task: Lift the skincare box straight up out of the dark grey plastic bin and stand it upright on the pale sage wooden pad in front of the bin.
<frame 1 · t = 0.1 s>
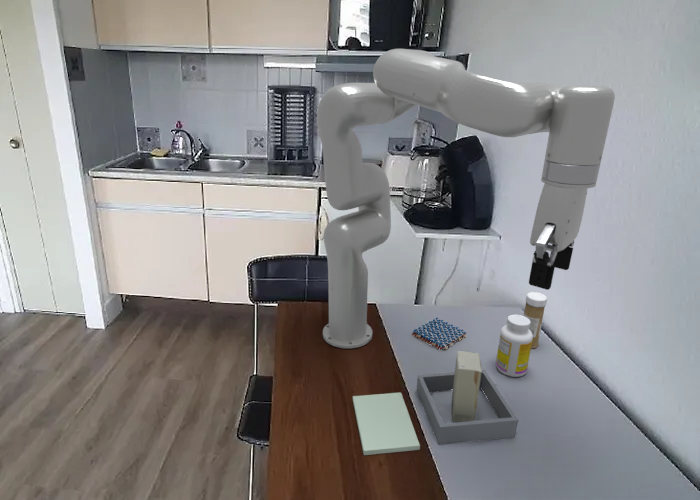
hand: (549, 276, 72), 31 cm above the table, tool pointing down, fingers open, 9 cm apart
supplement bottle: (510, 369, 100), on the table
sprinkles bottle: (527, 344, 109), on the table
skincare box: (462, 413, 87), resting in bin
woven mat: (438, 338, 112), on the table
bin: (462, 412, 86), on the table
pad: (383, 423, 84), on the table
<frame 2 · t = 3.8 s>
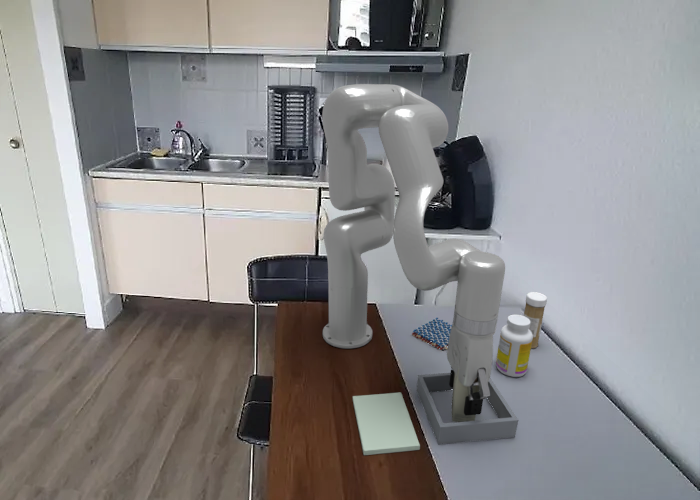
hand: (464, 398, 85), 3 cm above the table, tool pointing down, fingers closed on skincare box, 7 cm apart
skincare box: (462, 413, 87), resting in bin, touching gripper
everything else where it was.
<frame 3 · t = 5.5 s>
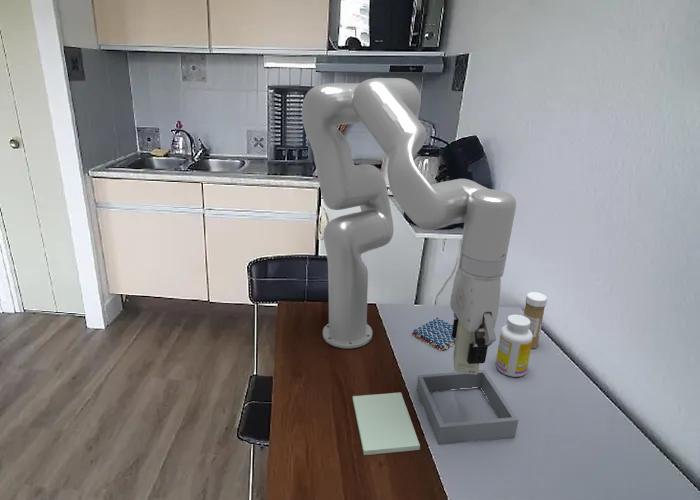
hand: (467, 348, 82), 14 cm above the table, tool pointing down, fingers closed on skincare box, 7 cm apart
skincare box: (464, 364, 83), point 11 cm above the table, touching gripper
everything else where it was.
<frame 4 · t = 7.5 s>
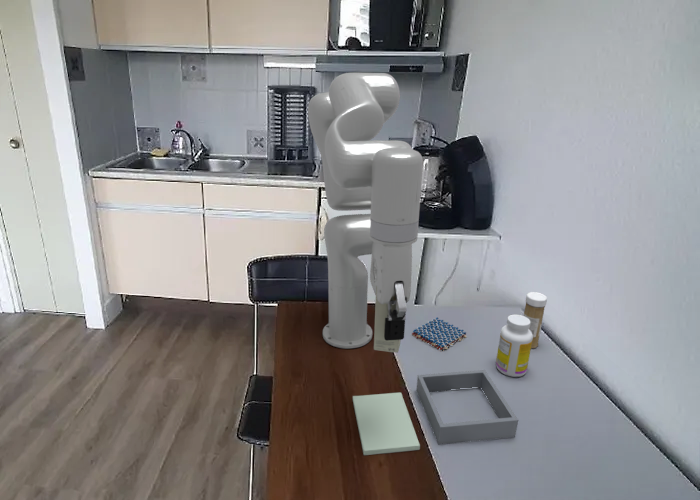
hand: (388, 325, 76), 21 cm above the table, tool pointing down, fingers closed on skincare box, 7 cm apart
skincare box: (387, 342, 77), point 18 cm above the table, touching gripper
everything else where it was.
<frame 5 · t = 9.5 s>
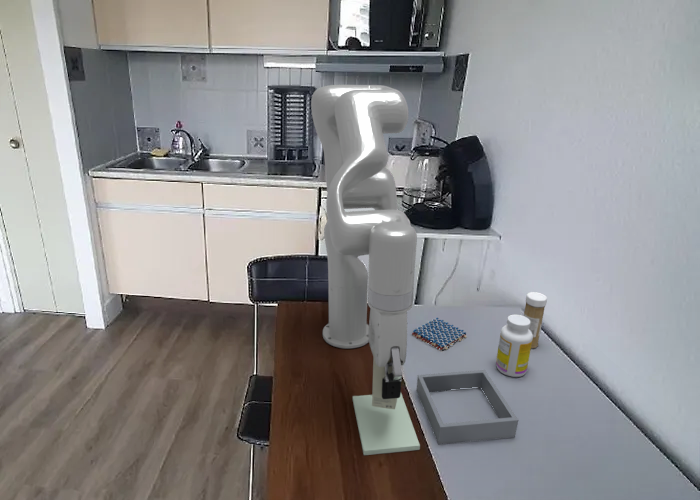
hand: (386, 382, 80), 10 cm above the table, tool pointing down, fingers closed on skincare box, 7 cm apart
skincare box: (385, 398, 81), point 6 cm above the table, touching gripper
everything else where it was.
when the fingers open (6 cm above the table, at t = 11.3 s): skincare box drops 1 cm, resting on pad.
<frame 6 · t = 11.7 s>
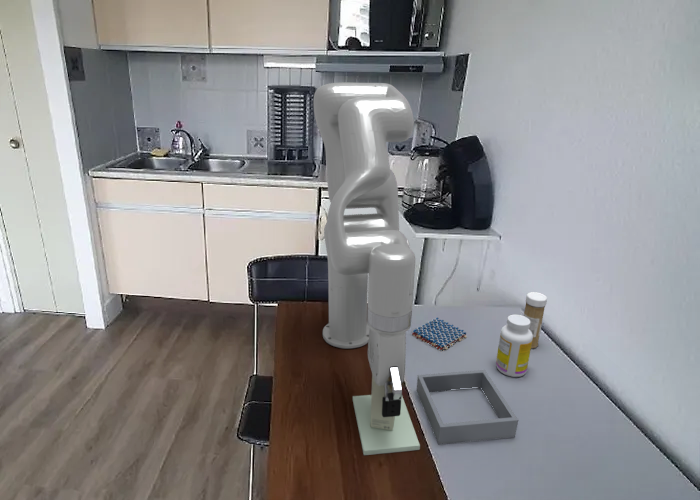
hand: (385, 396, 81), 6 cm above the table, tool pointing down, fingers open, 9 cm apart
skincare box: (383, 418, 84), point 1 cm above the table, touching pad
everything else where it was.
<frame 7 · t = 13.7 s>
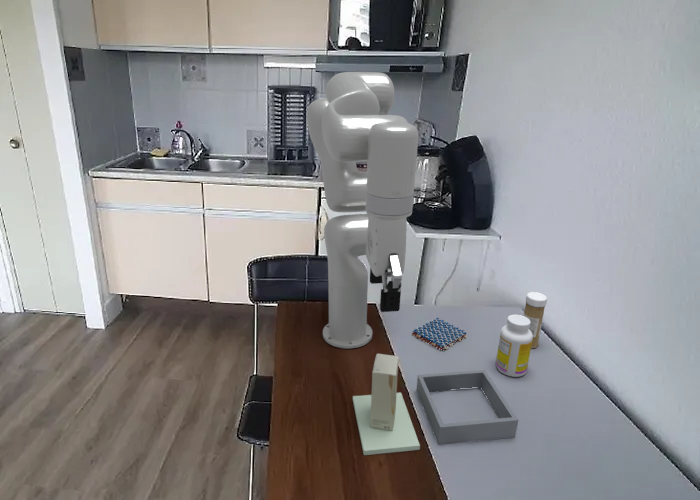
hand: (383, 295, 77), 25 cm above the table, tool pointing down, fingers open, 9 cm apart
nothing on the table moved.
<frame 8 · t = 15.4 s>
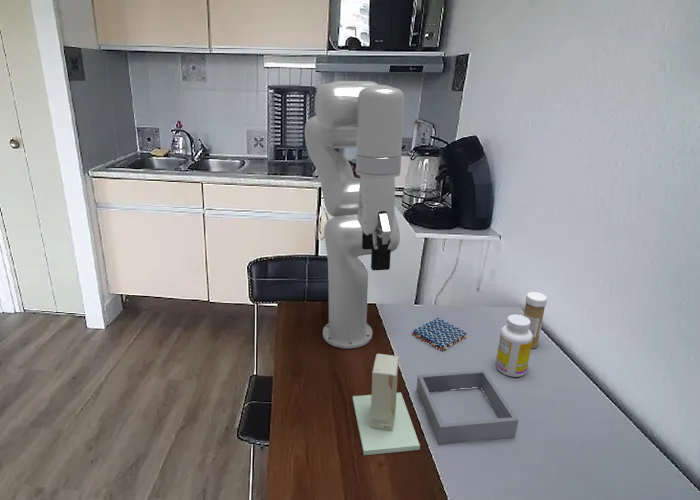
hand: (375, 258, 80), 30 cm above the table, tool pointing down, fingers open, 9 cm apart
nothing on the table moved.
at the end: skincare box inside the target area on the pad (0.5 cm from its centre), point 0.8 cm above the pad's base; skincare box tilted 0°; the gripper is holding nothing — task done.
